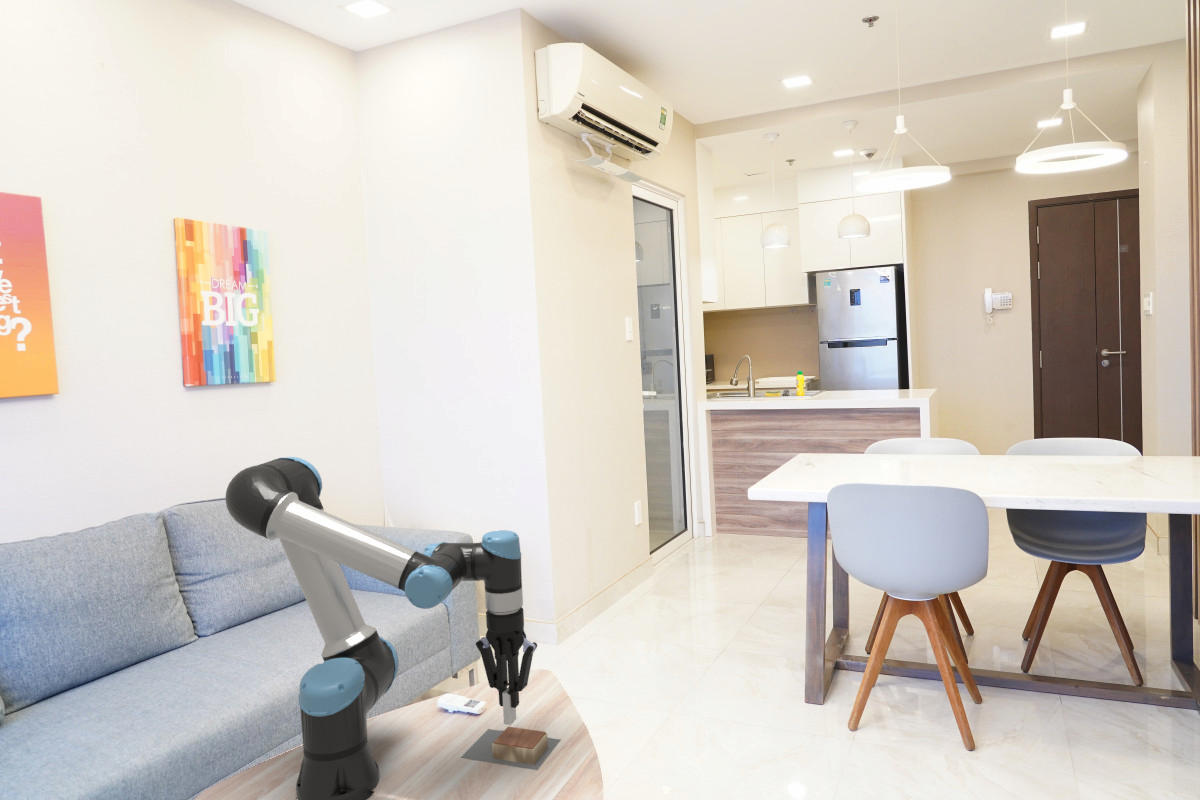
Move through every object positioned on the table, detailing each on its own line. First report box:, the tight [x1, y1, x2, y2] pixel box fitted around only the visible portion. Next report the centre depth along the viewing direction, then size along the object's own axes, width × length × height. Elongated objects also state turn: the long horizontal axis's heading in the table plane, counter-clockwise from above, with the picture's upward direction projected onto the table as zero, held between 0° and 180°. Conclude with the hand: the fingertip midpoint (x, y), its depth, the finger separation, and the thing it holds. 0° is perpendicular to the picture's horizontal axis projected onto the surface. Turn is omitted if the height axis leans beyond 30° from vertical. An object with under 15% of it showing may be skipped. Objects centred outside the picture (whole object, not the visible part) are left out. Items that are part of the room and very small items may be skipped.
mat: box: [460, 728, 561, 771], centre depth 159 cm, size 17×12×1 cm
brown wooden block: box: [492, 726, 548, 765], centre depth 157 cm, size 3×7×9 cm
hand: (510, 721), depth 158 cm, fingers closed
